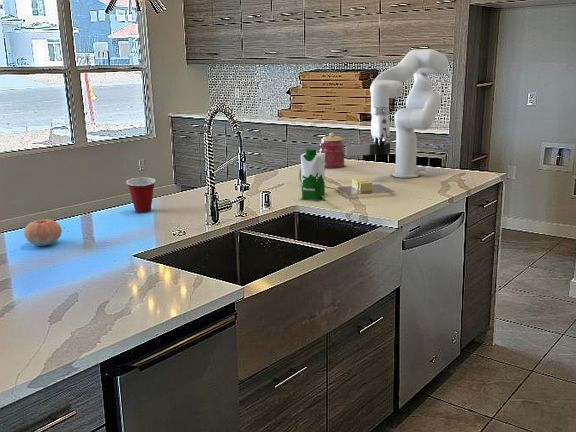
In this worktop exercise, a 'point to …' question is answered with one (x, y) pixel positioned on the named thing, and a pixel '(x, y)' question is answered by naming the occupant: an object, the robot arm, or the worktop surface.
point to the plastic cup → (141, 193)
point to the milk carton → (313, 175)
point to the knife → (365, 149)
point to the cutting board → (375, 189)
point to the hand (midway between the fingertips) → (379, 153)
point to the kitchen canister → (333, 151)
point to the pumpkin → (42, 232)
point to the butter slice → (365, 186)
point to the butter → (357, 183)
